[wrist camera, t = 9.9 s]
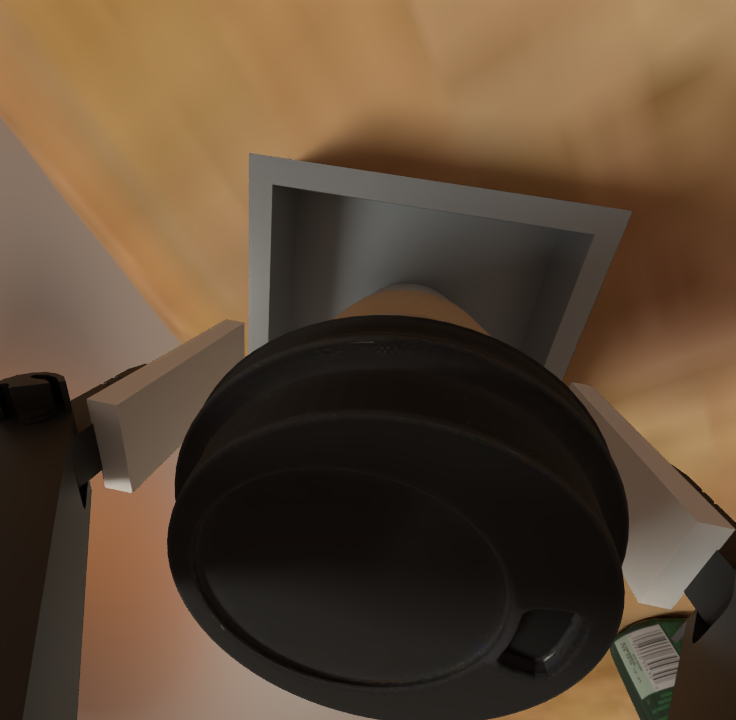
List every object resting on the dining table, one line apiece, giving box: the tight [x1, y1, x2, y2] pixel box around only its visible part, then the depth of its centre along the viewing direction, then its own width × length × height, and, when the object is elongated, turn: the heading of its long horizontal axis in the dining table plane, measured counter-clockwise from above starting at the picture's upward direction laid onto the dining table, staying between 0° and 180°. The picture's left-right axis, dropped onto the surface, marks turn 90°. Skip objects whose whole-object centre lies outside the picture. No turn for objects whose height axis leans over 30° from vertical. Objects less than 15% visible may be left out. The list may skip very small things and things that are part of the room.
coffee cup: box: [167, 283, 629, 720], centre depth 13 cm, size 9×9×15 cm
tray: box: [249, 153, 632, 381], centre depth 19 cm, size 15×15×4 cm
